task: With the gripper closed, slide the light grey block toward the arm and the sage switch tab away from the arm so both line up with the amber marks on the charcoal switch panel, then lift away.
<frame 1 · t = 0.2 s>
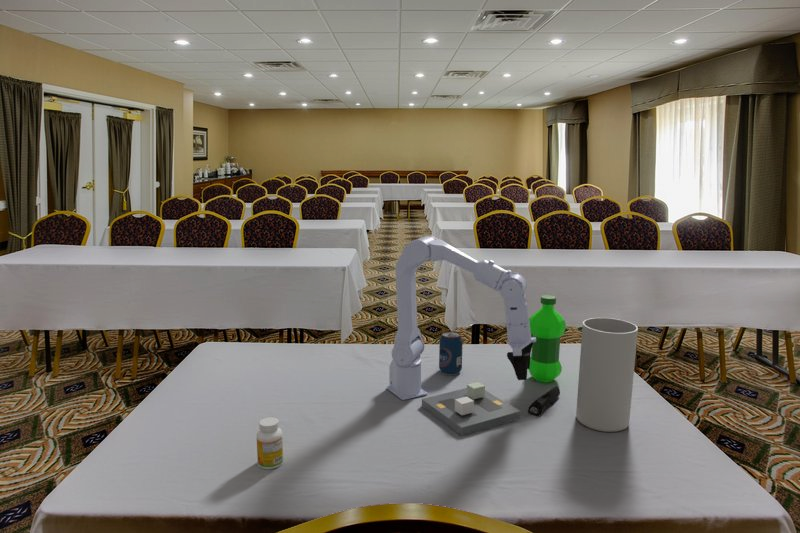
hand: (523, 374, 144), 11 cm above the table, tool pointing down, fingers open, 7 cm apart
electric trimmer: (544, 406, 151), on the table
plastic bottle: (543, 379, 168), on the table
light grey block: (464, 405, 141), point 4 cm above the table, slide at 6.0 cm
supplement bottle: (270, 464, 122), on the table
cylinder vase: (601, 421, 142), on the table
soda can: (450, 372, 173), on the table
tab sage: (475, 390, 150), point 4 cm above the table, slide at 0.0 cm
switch panel: (469, 412, 146), on the table
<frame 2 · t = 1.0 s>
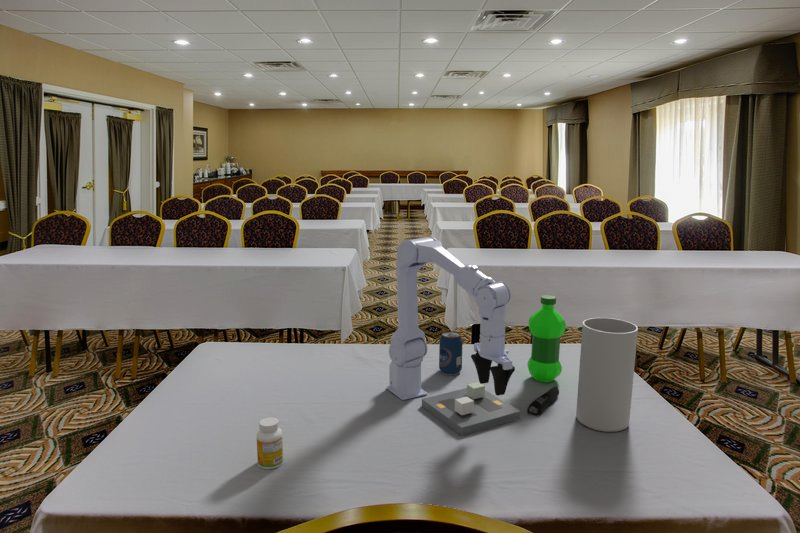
hand: (491, 388, 136), 10 cm above the table, tool pointing down, fingers open, 7 cm apart
nothing on the table moved.
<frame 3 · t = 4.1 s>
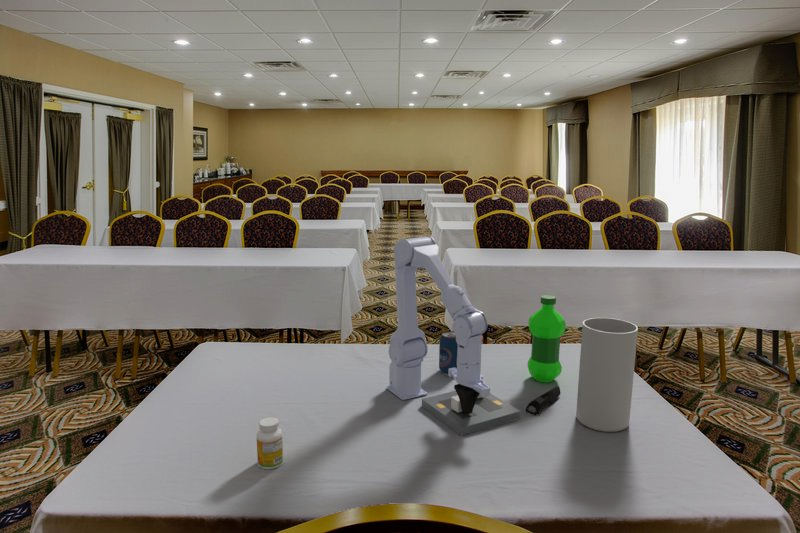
hand: (467, 412, 140), 3 cm above the table, tool pointing down, fingers closed
light grey block: (460, 403, 142), point 4 cm above the table, slide at 4.4 cm, touching gripper
everything else where it was.
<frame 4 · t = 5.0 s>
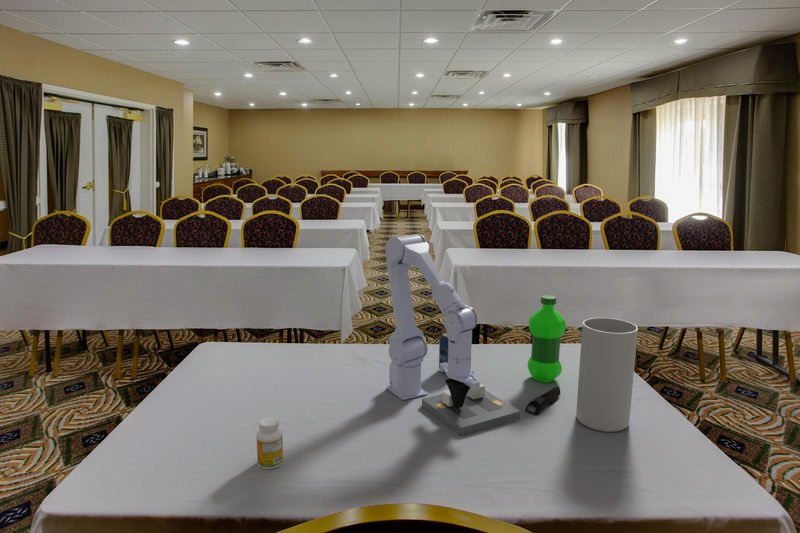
hand: (458, 406, 143), 3 cm above the table, tool pointing down, fingers closed
light grey block: (451, 397, 146), point 4 cm above the table, slide at 0.5 cm, touching gripper
everything else where it was.
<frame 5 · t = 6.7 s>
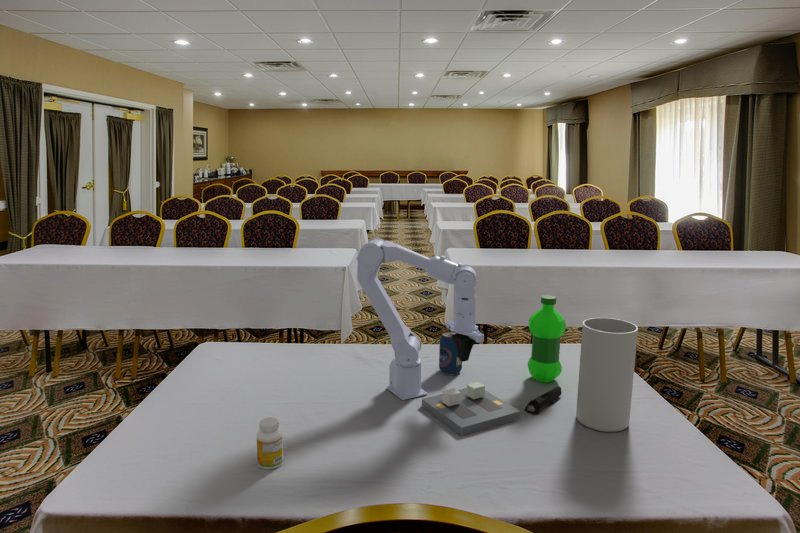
hand: (463, 360, 154), 10 cm above the table, tool pointing down, fingers closed
light grey block: (451, 397, 146), point 4 cm above the table, slide at 0.3 cm
everything else where it was.
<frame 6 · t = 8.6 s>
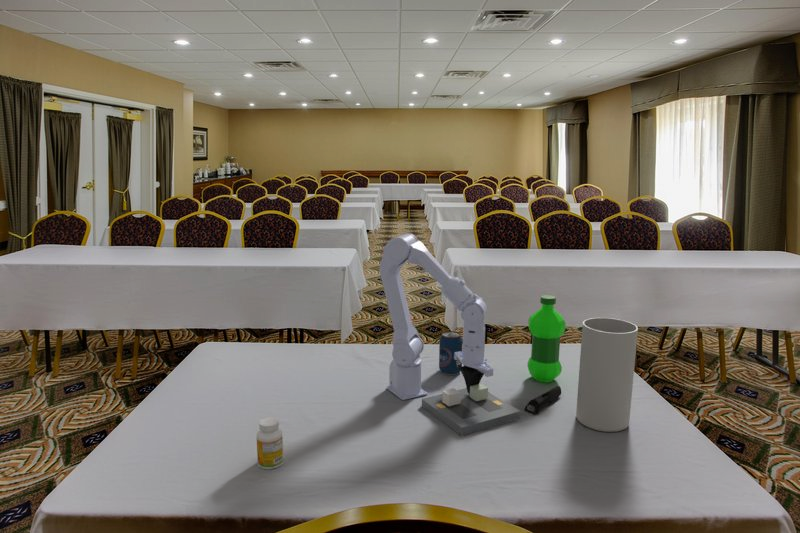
hand: (472, 392, 152), 3 cm above the table, tool pointing down, fingers closed
tab sage: (478, 392, 149), point 4 cm above the table, slide at 1.3 cm, touching gripper
everything else where it was.
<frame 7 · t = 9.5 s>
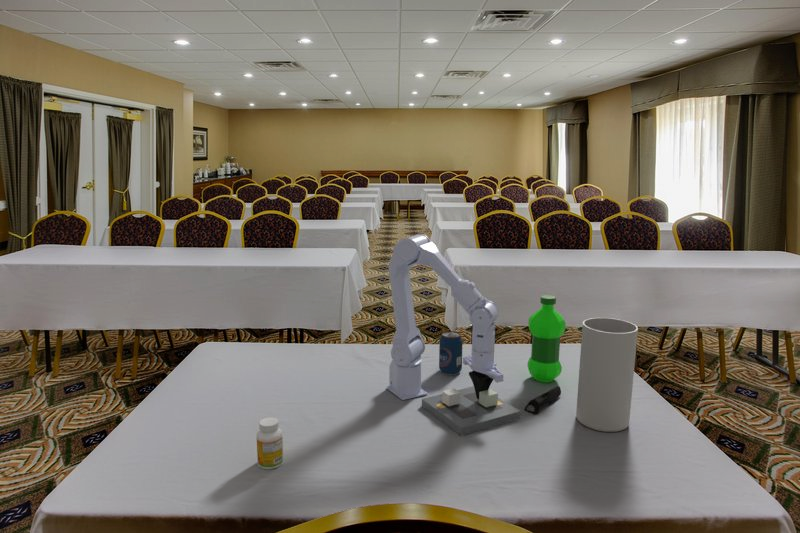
hand: (481, 398, 148), 3 cm above the table, tool pointing down, fingers closed
tab sage: (488, 398, 145), point 4 cm above the table, slide at 5.4 cm, touching gripper
everything else where it was.
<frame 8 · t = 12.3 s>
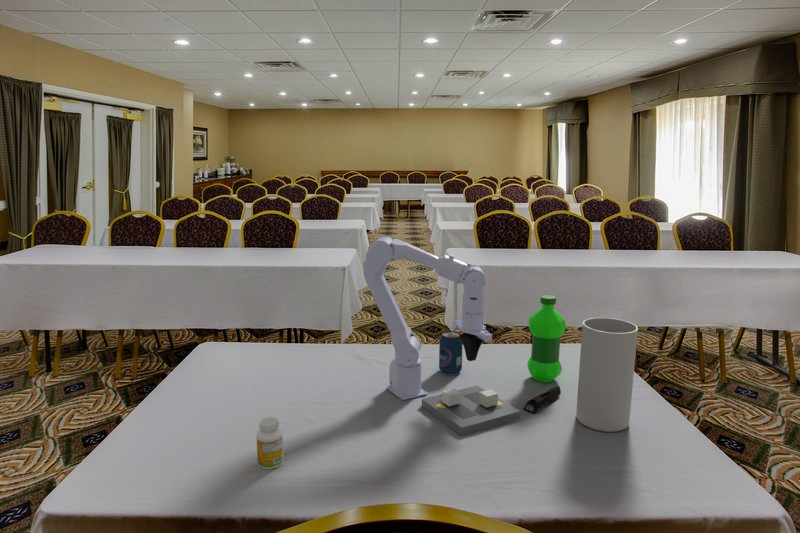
hand: (471, 359, 154), 10 cm above the table, tool pointing down, fingers closed
tab sage: (488, 398, 145), point 4 cm above the table, slide at 5.4 cm
everything else where it was.
at the end: light grey block slide at 0.3 cm; tab sage slide at 5.4 cm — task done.
